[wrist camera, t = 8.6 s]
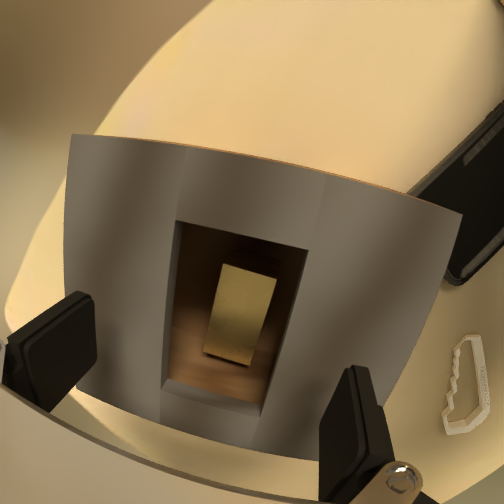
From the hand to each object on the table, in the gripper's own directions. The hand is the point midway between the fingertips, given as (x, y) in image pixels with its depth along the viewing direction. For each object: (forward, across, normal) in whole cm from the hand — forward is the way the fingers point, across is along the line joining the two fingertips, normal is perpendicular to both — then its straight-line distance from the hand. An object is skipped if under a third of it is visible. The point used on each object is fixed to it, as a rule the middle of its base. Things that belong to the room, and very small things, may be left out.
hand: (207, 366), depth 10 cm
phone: (+12, -16, -10) cm, 22 cm away
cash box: (+11, 0, 0) cm, 11 cm away
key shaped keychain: (+12, -21, +8) cm, 25 cm away
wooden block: (+11, 0, +2) cm, 11 cm away
